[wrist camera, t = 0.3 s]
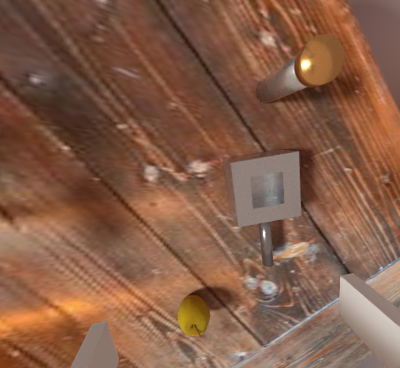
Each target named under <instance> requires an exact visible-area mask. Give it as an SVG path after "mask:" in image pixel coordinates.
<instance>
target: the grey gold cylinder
mask: <svg viewBox="0 0 400 368" xmlns="http://www.w3.org/2000/svg"><path fill="white" fill-rule="evenodd" d="M343 63H344V49H343V46H342V44H341V42H340V41H339V39H337V38H336V37H335V36H333V35H330V34H320V35H318V36H316V37H314V38H313V39H311V40H310V41H309V42H308V43H306V44H305V45H304V46H303V47H302V48H301V49H300V50H299V52H298V53H297V55H296V56H295V57H293V58H292V59H291V60H289V61H288V62H287V63H285V64H284V65H283V66H281V67H280V68H278V69H277V70H276V71H274V72H273V73H272V74H270V75H269V76H267V77H266V78H265V79H263V80H262V81H261V82H260V83H259V84H258V86H257V89H256V94H257V97H258V99H259V100H260V101H261V102H263V103H270V102H272V101H275V100H277V99H280V98H282V97H285V96H287V95H289V94H292V93H294V92H297V91H299V90H302V89H304V88H306V87H312V88H313V87H318V86H321V85H323V84H326V83H328V82H330V81H332V80H333V79H334V78H336V77H337V75H338V74H339V73H340V71H341V69H342V67H343Z"/></svg>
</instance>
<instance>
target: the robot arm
mask: <svg viewBox="0 0 400 368" xmlns="http://www.w3.org/2000/svg"><path fill="white" fill-rule="evenodd" d="M339 315H340V316H341V317H342V319H343V320H344V321H345V322H346V323H347V324H348V325H349V326H350V328H351V329H352V330H353V331H354V332H355V333H356V334H357V335H358V337H359V338H360V339H361V340H362V341H363V342H364V343H365V344H366V346H367V347H368V348H369V349H370V350H371V351H372V352H373V353H374V355H375V356H376V357H377V358H378V359H379V360H380V361H381V362H382V364H383V365H384V366H385V367H386V368H400V310H399V309H398V308H396V307H395V306H394V305H393V304H391V303H390V302H389V301H388V300H386V299H385V298H384V297H383V296H381V295H380V294H379V293H378V292H376V291H375V290H374V289H372V288H371V287H370V286H369V285H367V284H366V283H365V282H364V281H362V280H361V279H360V278H359V277H357V276H356V275H355V274H354V273H352V274H347V275H342V276H341V277H340V302H339ZM118 361H119V358H118V354H117V351H116V348H115V345H114V342H113V339H112V336H111V333H110V330H109V327H108V324H107V321H103V322H98V323H93V324H92V325H91V327H90V329H89V331H88V333H87V335H86V337H85V339H84V341H83V343H82V345H81V347H80V349H79V351H78V353H77V355H76V358H75V360H74V362H73V364H72V366H71V368H117V365H118Z"/></svg>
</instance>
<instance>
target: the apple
mask: <svg viewBox="0 0 400 368" xmlns="http://www.w3.org/2000/svg"><path fill="white" fill-rule="evenodd" d="M209 319H210V311H209V309H208V307H207V305H206V303H205V302H204V300H203V299H201V298H200V297H199V296H197V295H189V296H187V297H185V298H184V300H183V301H182V303H181V305H180V307H179V311H178V322H179V325H180V327H181V329H182V330H183V332H184V333H185V334H187V335H189V336H200V337H201V335H202V334H203V333H204V332H205V331H206V329H207V326H208V322H209Z"/></svg>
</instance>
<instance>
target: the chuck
mask: <svg viewBox="0 0 400 368" xmlns="http://www.w3.org/2000/svg"><path fill="white" fill-rule="evenodd" d="M222 160H223V168H224V176H225V183H226V191H227V199H228V207H229V213H230V215H231V217H232V218H233V220H234V221H235V223H236V224H237V226H238V227H243V226H249V225H254V224H259V229H260V240H261V251H262V262H263V265H264V266H267V267H270V266H272V265H273V251H272V238H271V225H270V221H276V220H281V219H286V218H292V217H297V216H301V196H300V166H299V151H291V150H282V149H277V150H271V151H265V152H259V153H253V154H247V155H242V156H236V157H230V158H224V159H222Z"/></svg>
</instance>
